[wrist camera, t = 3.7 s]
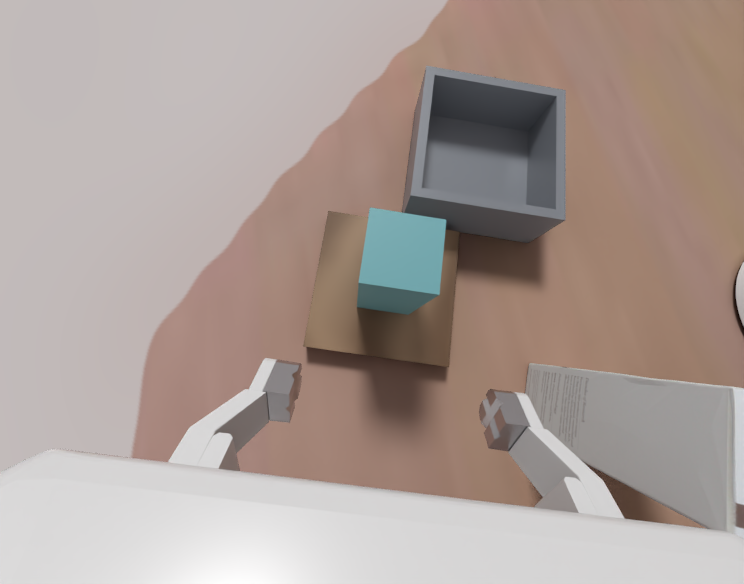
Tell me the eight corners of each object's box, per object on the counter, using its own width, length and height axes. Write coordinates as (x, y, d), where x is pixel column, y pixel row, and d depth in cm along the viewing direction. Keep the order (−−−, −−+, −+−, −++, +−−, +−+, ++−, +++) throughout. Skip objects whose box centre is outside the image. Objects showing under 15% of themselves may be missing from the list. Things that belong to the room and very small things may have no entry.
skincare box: (612, 382, 26) (947, 425, 11) (609, 454, 25) (981, 607, 10) (521, 361, 26) (742, 377, 11) (513, 432, 24) (750, 556, 10)
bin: (531, 131, 30) (565, 90, 26) (528, 242, 28) (565, 220, 23) (414, 111, 30) (426, 65, 25) (400, 222, 28) (410, 195, 23)
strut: (414, 265, 25) (446, 219, 16) (408, 314, 24) (439, 294, 15) (364, 257, 25) (369, 207, 16) (356, 307, 24) (358, 282, 15)
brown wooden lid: (454, 238, 28) (475, 214, 23) (443, 366, 25) (464, 369, 20) (329, 218, 27) (324, 190, 22) (306, 346, 25) (294, 345, 20)
